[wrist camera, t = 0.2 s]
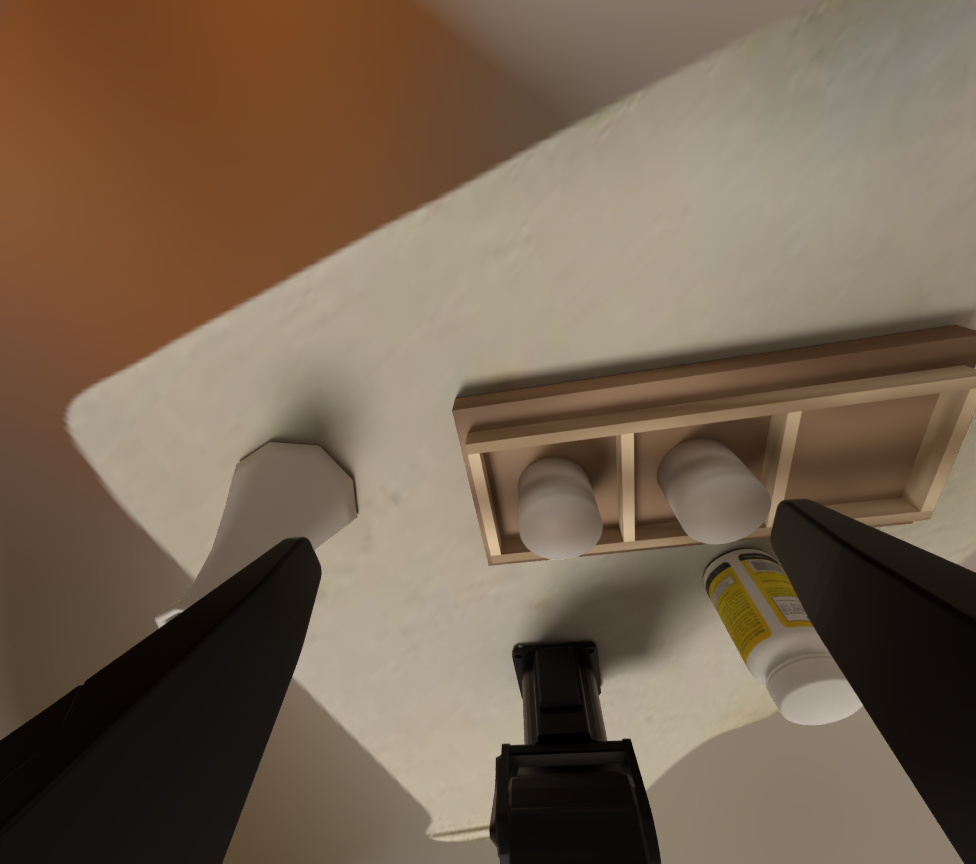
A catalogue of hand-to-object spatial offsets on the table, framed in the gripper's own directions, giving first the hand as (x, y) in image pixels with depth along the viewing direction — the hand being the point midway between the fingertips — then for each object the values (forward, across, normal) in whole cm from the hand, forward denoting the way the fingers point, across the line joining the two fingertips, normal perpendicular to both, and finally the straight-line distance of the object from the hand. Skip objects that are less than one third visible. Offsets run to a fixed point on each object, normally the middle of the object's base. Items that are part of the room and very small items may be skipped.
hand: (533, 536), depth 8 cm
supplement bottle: (+15, -13, +18) cm, 27 cm away
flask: (+15, +14, +8) cm, 22 cm away
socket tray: (+14, -9, +8) cm, 19 cm away
